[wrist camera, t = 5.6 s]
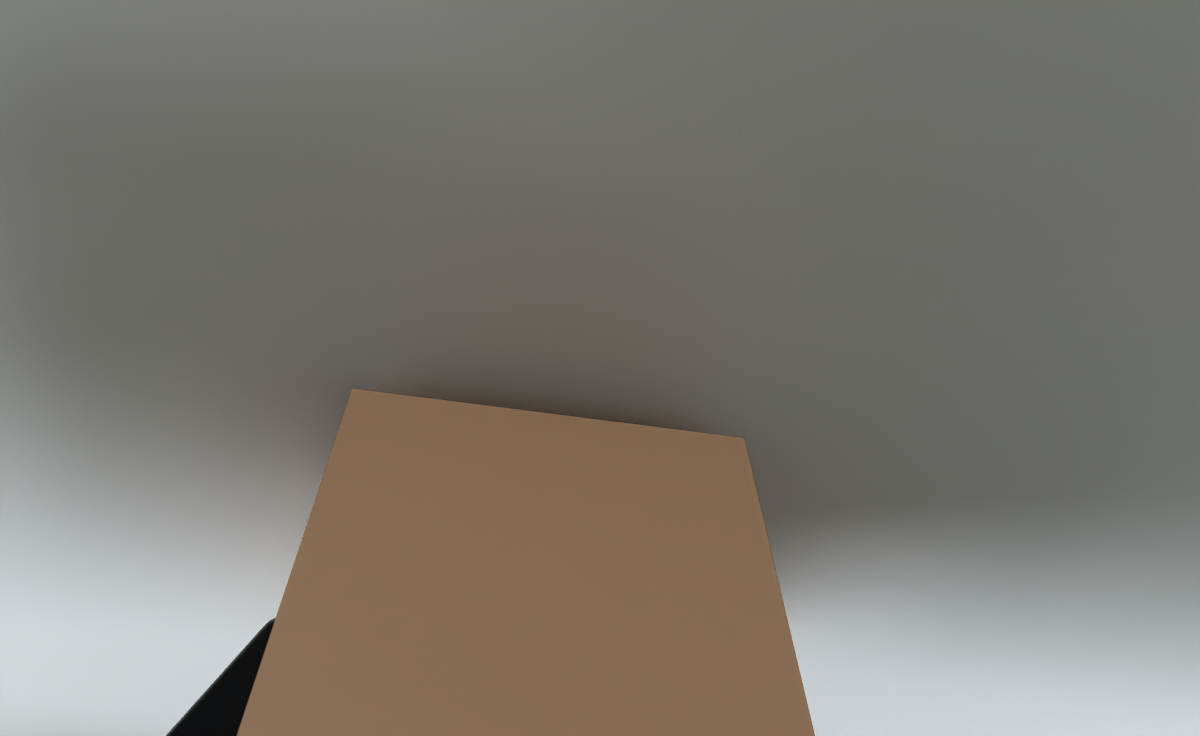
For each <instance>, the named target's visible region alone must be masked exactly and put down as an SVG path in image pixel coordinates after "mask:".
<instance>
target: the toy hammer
mask: <svg viewBox="0 0 1200 736" xmlns="http://www.w3.org/2000/svg"><path fill="white" fill-rule="evenodd" d="M237 736H815V734H814V730H813V726H812V721H811V717H810V713H809V709H808V704H807V700H806V696H805V692H804V688H803V683H802V679H801V675H800V671H799V667H798V662H797V658H796V654H795V650H794V645H793V641H792V637H791V633H790V629H789V624H788V620H787V616H786V612H785V607H784V603H783V599H782V595H781V591H780V586H779V582H778V578H777V574H776V570H775V565H774V561H773V557H772V553H771V548H770V544H769V540H768V536H767V532H766V527H765V523H764V519H763V515H762V511H761V506H760V502H759V498H758V494H757V489H756V485H755V481H754V477H753V473H752V468H751V464H750V460H749V456H748V452H747V447H746V443H745V439H744V438H740V437H732V436H724V435H716V434H709V433H701V432H693V431H685V430H677V429H669V428H661V427H653V426H645V425H637V424H630V423H622V422H614V421H606V420H598V419H590V418H582V417H574V416H566V415H559V414H551V413H543V412H535V411H527V410H519V409H511V408H503V407H495V406H487V405H480V404H472V403H464V402H456V401H448V400H440V399H432V398H424V397H416V396H408V395H401V394H393V393H385V392H377V391H369V390H361V389H353V388H352V390H351V393H350V396H349V399H348V402H347V405H346V408H345V411H344V414H343V418H342V421H341V424H340V427H339V430H338V433H337V436H336V439H335V442H334V445H333V448H332V451H331V454H330V457H329V460H328V463H327V466H326V469H325V472H324V475H323V478H322V481H321V484H320V487H319V490H318V493H317V496H316V499H315V502H314V505H313V508H312V511H311V514H310V517H309V520H308V523H307V526H306V529H305V532H304V535H303V538H302V541H301V544H300V547H299V550H298V553H297V556H296V559H295V562H294V565H293V568H292V571H291V574H290V577H289V580H288V583H287V586H286V589H285V592H284V595H283V598H282V601H281V604H280V607H279V610H278V613H277V616H276V619H275V622H274V625H273V628H272V631H271V634H270V637H269V640H268V643H267V646H266V649H265V652H264V655H263V658H262V661H261V664H260V667H259V670H258V673H257V676H256V679H255V682H254V685H253V688H252V691H251V694H250V697H249V700H248V703H247V706H246V709H245V712H244V715H243V718H242V721H241V724H240V727H239V730H238V733H237Z"/></svg>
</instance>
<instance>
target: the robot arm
mask: <svg viewBox="0 0 1200 736" xmlns="http://www.w3.org/2000/svg"><path fill="white" fill-rule="evenodd" d="M275 619H276V618H274V619H272V620H270V621H269V622H268V623H267V624H266V625H265V626H264V627H263V628H262V629H261V630H260V631H259V632H258V633H257V635H256V636H255V637H254V638H253V639H252V640H251V641H250V642H249V643H248V645H247V646H246V647H245V648H244V649H243V650H242V651H241V652H240V654H239V655H238V656H237V657H236V658H235V659H234V660H233V661H232V662H231V664H230V665H229V666H228V667H227V668H226V669H225V670H224V671H223V673H222V674H221V675H220V676H219V677H218V678H217V679H216V680H215V681H214V683H213V684H212V685H211V686H210V687H209V688H208V689H207V690H206V692H205V693H204V694H203V695H202V696H201V697H200V698H199V699H198V700H197V702H196V703H195V704H194V705H193V706H192V707H191V708H190V709H189V710H188V712H187V713H186V714H185V715H184V716H183V717H182V718H181V719H180V721H179V722H178V723H177V724H176V725H175V726H174V727H173V728H172V729H171V731H170V732H169V733H168V734H167V735H166V736H237V733H238V730H239V727H240V724H241V721H242V718H243V715H244V712H245V709H246V706H247V703H248V700H249V697H250V694H251V691H252V688H253V685H254V682H255V679H256V676H257V673H258V670H259V667H260V664H261V661H262V658H263V655H264V652H265V649H266V646H267V643H268V640H269V637H270V634H271V631H272V628H273V625H274V622H275Z"/></svg>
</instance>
